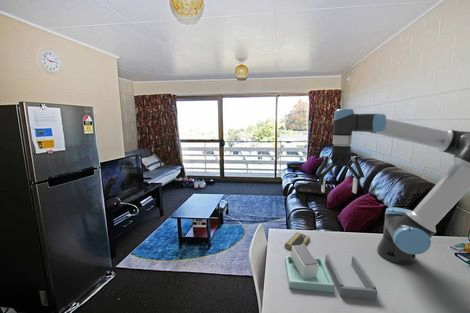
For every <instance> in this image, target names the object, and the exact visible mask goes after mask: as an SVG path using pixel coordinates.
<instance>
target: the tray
mask: <svg viewBox="0 0 470 313" xmlns="http://www.w3.org/2000/svg"><path fill="white" fill-rule="evenodd" d="M314 259H315V260H316V262H317V263H318V265H319V267H318V272H317V277H313V278H305V279H302V277H301V275H300V273H299V271H298V270H297V268H296V266H295V264H294V262H293V261H292V259H291V255H284V264H285V270H286V276H287V281H288V288H289V289H296V290H305V291H306V290H307V291H318V292H327V293H333V292H334V290H335V289H334V287H335V284H334V282H333V280H332V277H331V275H330V273H329V271H328V268H327V266H326V264H325V261H324V260H323V258H322V257H314Z"/></svg>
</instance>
